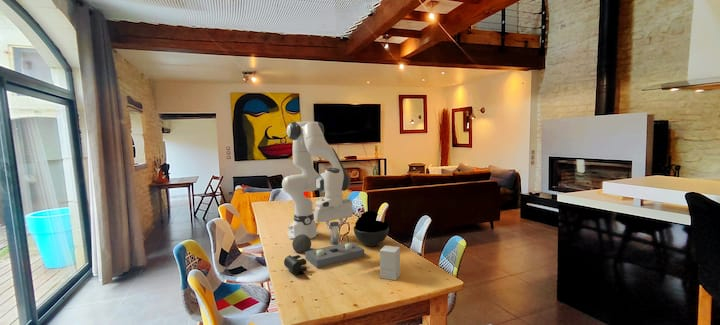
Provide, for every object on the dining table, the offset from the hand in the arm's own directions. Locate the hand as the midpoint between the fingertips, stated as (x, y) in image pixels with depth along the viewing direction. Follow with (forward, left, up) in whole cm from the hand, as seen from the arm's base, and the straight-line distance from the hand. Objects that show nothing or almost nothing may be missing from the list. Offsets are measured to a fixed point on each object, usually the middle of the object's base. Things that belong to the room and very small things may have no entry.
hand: (334, 228), depth 164 cm
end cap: (+3, -22, -17) cm, 28 cm away
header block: (0, 0, -16) cm, 16 cm away
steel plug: (0, 0, -8) cm, 8 cm away
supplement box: (+30, +12, -17) cm, 37 cm away
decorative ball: (-19, -10, -17) cm, 27 cm away
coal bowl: (-9, +28, -17) cm, 34 cm away
